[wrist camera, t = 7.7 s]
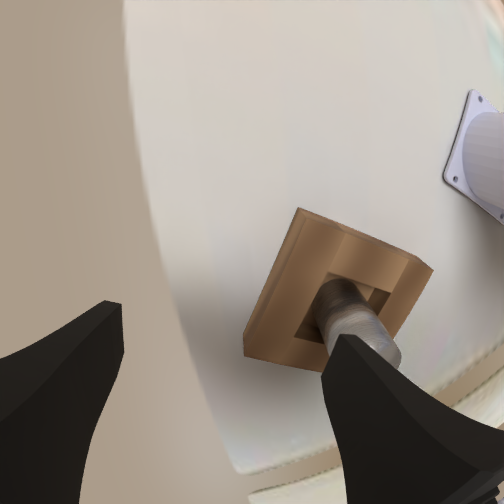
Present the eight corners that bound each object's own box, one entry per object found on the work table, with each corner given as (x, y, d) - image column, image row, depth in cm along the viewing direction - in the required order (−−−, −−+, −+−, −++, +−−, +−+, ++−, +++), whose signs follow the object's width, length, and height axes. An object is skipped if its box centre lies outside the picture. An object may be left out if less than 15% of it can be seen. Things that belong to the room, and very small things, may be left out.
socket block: (416, 256, 20) (433, 270, 18) (355, 359, 23) (364, 379, 21) (297, 207, 18) (306, 217, 16) (243, 333, 22) (244, 356, 19)
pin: (357, 272, 20) (402, 333, 13) (361, 314, 21) (399, 379, 15) (307, 286, 20) (335, 356, 13) (315, 327, 21) (340, 399, 15)
